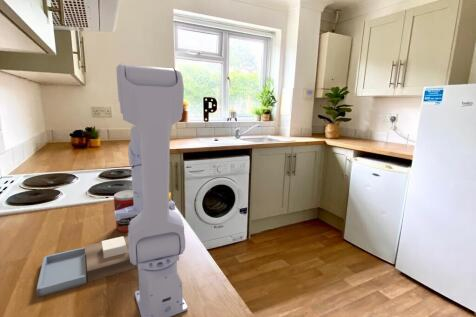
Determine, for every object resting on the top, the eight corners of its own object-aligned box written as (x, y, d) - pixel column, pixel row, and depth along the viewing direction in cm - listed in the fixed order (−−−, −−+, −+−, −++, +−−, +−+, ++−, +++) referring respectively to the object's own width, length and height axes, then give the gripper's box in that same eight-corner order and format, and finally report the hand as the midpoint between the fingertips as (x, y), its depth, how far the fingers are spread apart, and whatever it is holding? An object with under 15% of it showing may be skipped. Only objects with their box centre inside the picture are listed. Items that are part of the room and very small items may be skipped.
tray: (86, 283, 55) (85, 276, 55) (37, 297, 51) (36, 289, 51) (85, 253, 66) (84, 247, 66) (45, 263, 62) (44, 256, 62)
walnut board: (136, 267, 61) (136, 258, 60) (88, 281, 56) (87, 271, 55) (128, 244, 71) (127, 236, 71) (86, 254, 66) (85, 245, 65)
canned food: (115, 234, 76) (112, 199, 74) (117, 223, 83) (114, 191, 81) (143, 230, 79) (141, 196, 77) (142, 219, 86) (140, 188, 84)
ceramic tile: (126, 252, 63) (126, 245, 62) (103, 258, 60) (103, 250, 60) (123, 243, 67) (123, 236, 66) (102, 248, 64) (101, 241, 64)
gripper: (168, 182, 72) (170, 227, 74) (111, 190, 64) (115, 239, 67) (177, 189, 66) (178, 238, 69) (114, 198, 58) (119, 252, 61)
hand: (147, 239), depth 67 cm, fingers closed
